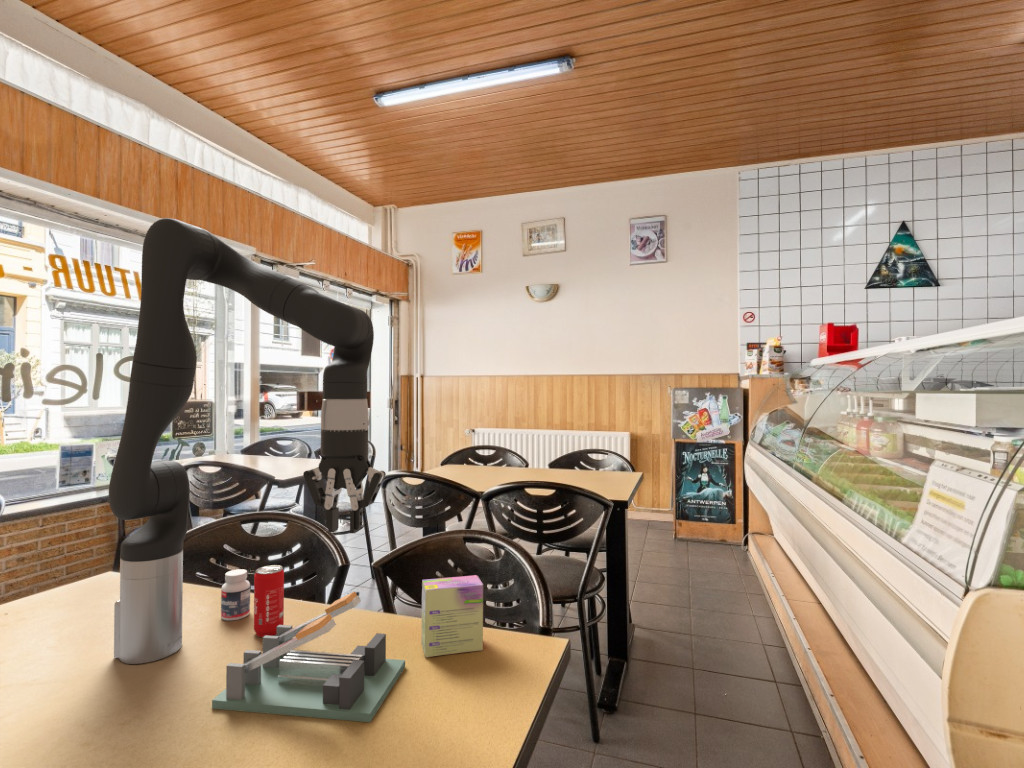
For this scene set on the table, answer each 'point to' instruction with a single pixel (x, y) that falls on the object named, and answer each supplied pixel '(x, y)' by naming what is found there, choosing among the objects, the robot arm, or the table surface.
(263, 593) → the beverage can
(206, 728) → the table surface
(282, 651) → the lever near
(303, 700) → the socket board
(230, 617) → the pill bottle
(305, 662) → the heatsink block
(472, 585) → the box
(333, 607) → the lever far
